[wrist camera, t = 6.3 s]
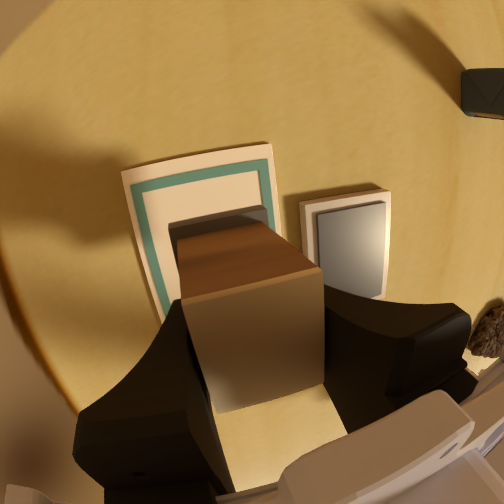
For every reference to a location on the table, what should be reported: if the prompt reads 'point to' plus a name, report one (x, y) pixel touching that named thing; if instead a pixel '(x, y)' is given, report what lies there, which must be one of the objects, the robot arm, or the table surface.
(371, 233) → the ink pad
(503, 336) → the dark brown rock
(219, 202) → the print sheet
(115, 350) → the table surface
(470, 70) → the vaping device
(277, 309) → the stamp
